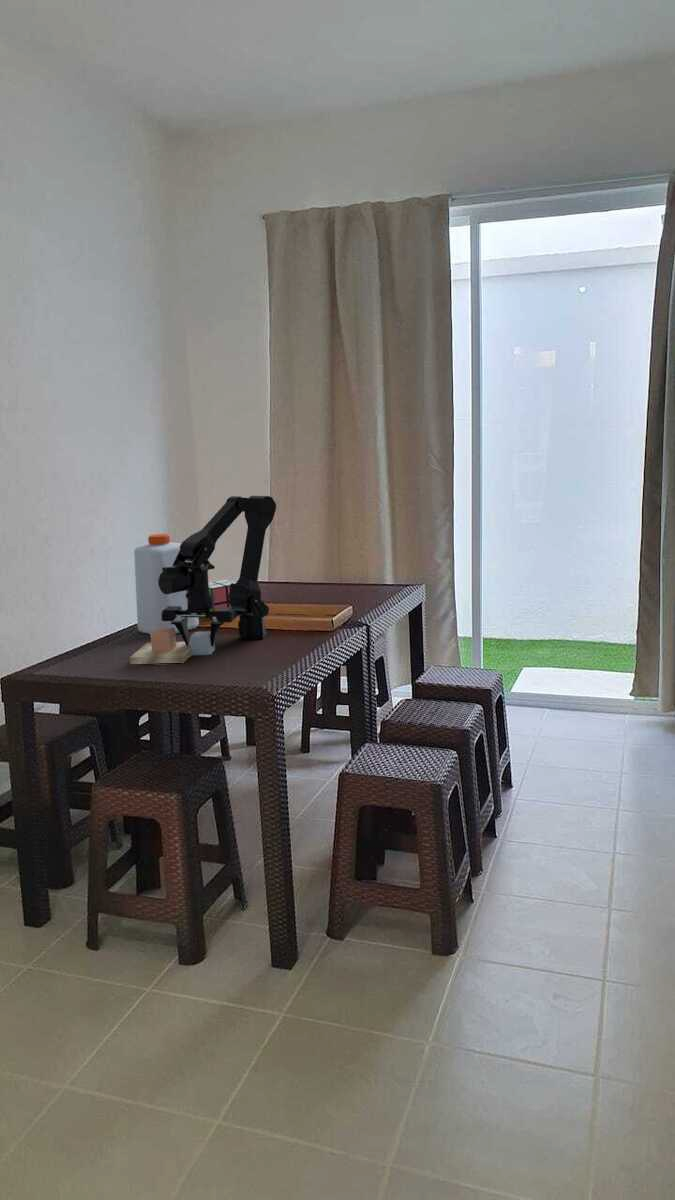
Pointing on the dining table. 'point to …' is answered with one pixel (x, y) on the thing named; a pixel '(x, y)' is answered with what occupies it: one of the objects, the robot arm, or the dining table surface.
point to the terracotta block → (163, 640)
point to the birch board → (162, 654)
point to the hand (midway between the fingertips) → (200, 645)
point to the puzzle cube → (220, 593)
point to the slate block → (201, 643)
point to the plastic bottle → (156, 584)
